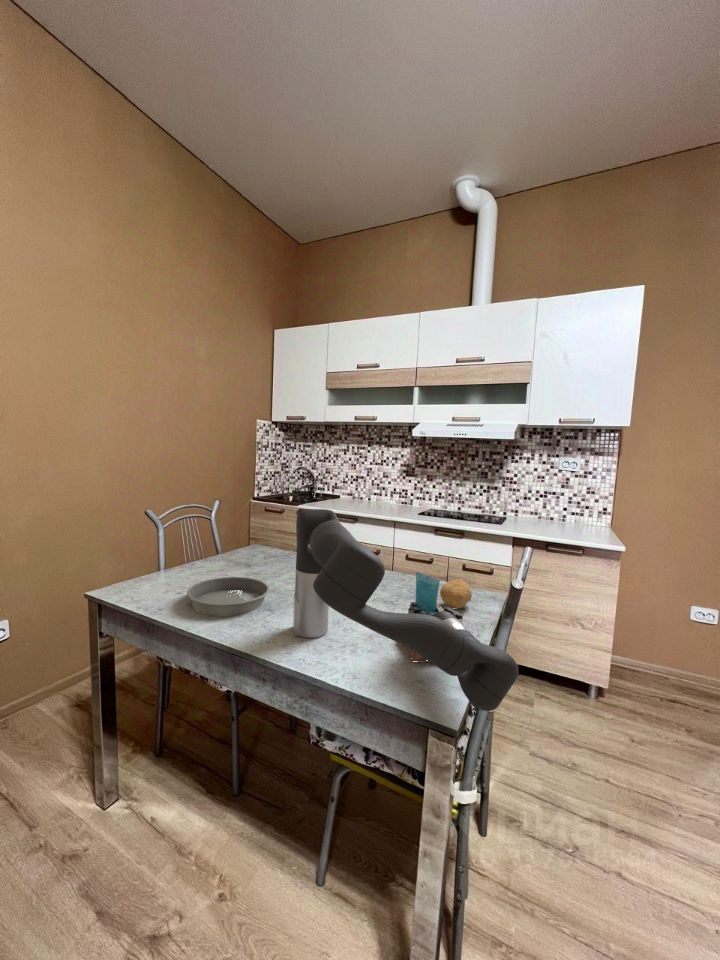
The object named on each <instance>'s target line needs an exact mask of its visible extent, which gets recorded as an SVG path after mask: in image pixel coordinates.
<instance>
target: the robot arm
mask: <svg viewBox="0 0 720 960" xmlns="http://www.w3.org/2000/svg"><path fill="white" fill-rule="evenodd" d="M295 524H296V525H295V526H296V527H295V529H296V534H295V535H296V536H295V537H296V557H295V577H294V578H295V579H294V580H295V582H294V585H295V586H294V594H293V615H292V617H293V618H292V619H293V621H292V629H293V635H294V637H300V638H305V639H314V638H319V637H323V636H325V635H326V634H327V633H328V629H329V610H330V609H329V608H331V609H333V610H334V611H335V612H337V613H339V614H340V615H342V616H344V617H346V618H347V619H349V620H351V621H354V622H355V623H357V624H358V625H359V624H360V625H362V626H363V627H365V628H367V629H370V630H371V631H373V632H375V633H377V634H379V635H380V636H383V637H386V638H387V639H389V640H392V641H393V642H396V643H397V644H400V645H404V646H405V647H407V648H409V649H411V650H413V651H414V652H416V653H417V654H419V655H420V656H422V657H423V658H425V659H426V660H428V662H429V663H431V664H432V665H434V666H435V667H437V668H438V669H439V670H441V671H442V672H444V673H445V674H447V675H450V676H452V677H457V680H458V682H459V683H458V684H459V686H460V688H461V691H462V692H463V695H464V696H465V697H466V699H467V700H468V701H469V703H471V705H473V707H474V708H477V709H478V710H480V711H483V712H492V711H495V710H496V709H497V708H498V707H499V706H500V704H501V703H502V702H503V699H504V698H505V697H506V695H507V694H508V693H509V691H510V690H511V688H512V687H513V685H514V684H515V683H516V681H517V679H518V677H519V667H518V664H517V662H516V660H515V659H514V658H513V656H511V655H510V654H509V653H507V652H506V651H504V650H502V649H500V648H497V647H496V646H492V645H489V644H486V643H482V642H481V641H480V640H479V639H478V638H476V637H475V636H474V635H473V634H472V633H471V632H470V630H469V629H468V627H466V625H465V624H463V622H464V621H463V620H464V615H463V613H460V612H459V611H457V610H455V609H452V608H451V607H449V606H445V607H444V608H443V607H442V606H440V605H438V604H437V606H436V612H434V613H433V612H429V611H427V610H426V609H420V608H419V607H418V605H417V604H416V603H415V601H411V603H410V604H409V608H407V613H406V612H391V611H383V610H380V609H377V608H374V607H373V606H370V605H368V604H367V603H368V601H369V600H370V599H371V597H372V596H373V594H374V593H375V591H376V590H377V588H378V587H379V585H380V584H381V583H382V581H383V579H384V577H385V572H386V569H385V565H384V564H383V562H382V560H381V559H380V558H379V556H377V555H376V554H375V553H374V552H373V551H372V550H371V549H370V548H368V547H367V546H365V545H364V544H362V543H361V542H360V541H358V540H357V539H356V538H355V537H354V536H353V535H352V534H351V532H350V531H349V530H348V529H347V528H346V527H345V526H344V525H342V523H341V521H340V520H339V518H338V517H337V515H336V513H335V512H334V511H333V510H332V509H331V510H330V509H324V508H323V509H321V508H320V509H317V508H305V509H304V508H303V509H300V510H299V511H298V513H297V515H296V522H295Z"/></svg>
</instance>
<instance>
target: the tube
mask: <svg viewBox="0 0 720 960" xmlns="http://www.w3.org/2000/svg"><path fill="white" fill-rule="evenodd" d="M415 572H416V573H415V601H414V602H415V603H416V604H417V605H418V607H419V608H420V609H426V610H427V611H429V612H433V613H434V612H436V606H437V605H438V597H439V589H440V581H441V579H439V578H435V577H432V576H429V575H427V574H424V573H421V572H419V571H415Z"/></svg>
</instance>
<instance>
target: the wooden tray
mask: <svg viewBox="0 0 720 960" xmlns="http://www.w3.org/2000/svg"><path fill="white" fill-rule="evenodd" d="M402 648H403V649H404V648H405V649H404V651H405V652H406V651H407V652H408V653H407V652H406V653H407V655H408V654H409V655H410V656H409V655H408V656H409V658H410V657H411V658H412V660H413V661H426V659H425V658H423V657H422V656H420V655H419V654H417V653H416V652H414V651H413V650H411V649H409V648H407V647H405V646H404V645H403V646H402ZM411 658H410V659H411ZM412 660H411V661H412ZM413 661H412V662H413Z"/></svg>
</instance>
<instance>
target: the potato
mask: <svg viewBox="0 0 720 960" xmlns="http://www.w3.org/2000/svg"><path fill="white" fill-rule="evenodd" d="M439 594H440V598H441V600H442V601H443V603H444V604H445V605H446V607H449V608H451V609H452V608H457V609H461V608H463V607H465V606H466V605H467V604H468V603H469V602H470V601H471V600H472V597H473V594H472V589H471V587H470V585H469V583H467V582H466V581H465V580H463V579H461V578H456V579H455V578H454V579H452V580H450V581H448V582H446V583H444V584H443V585H442V586H441V588H440V590H439Z"/></svg>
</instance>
